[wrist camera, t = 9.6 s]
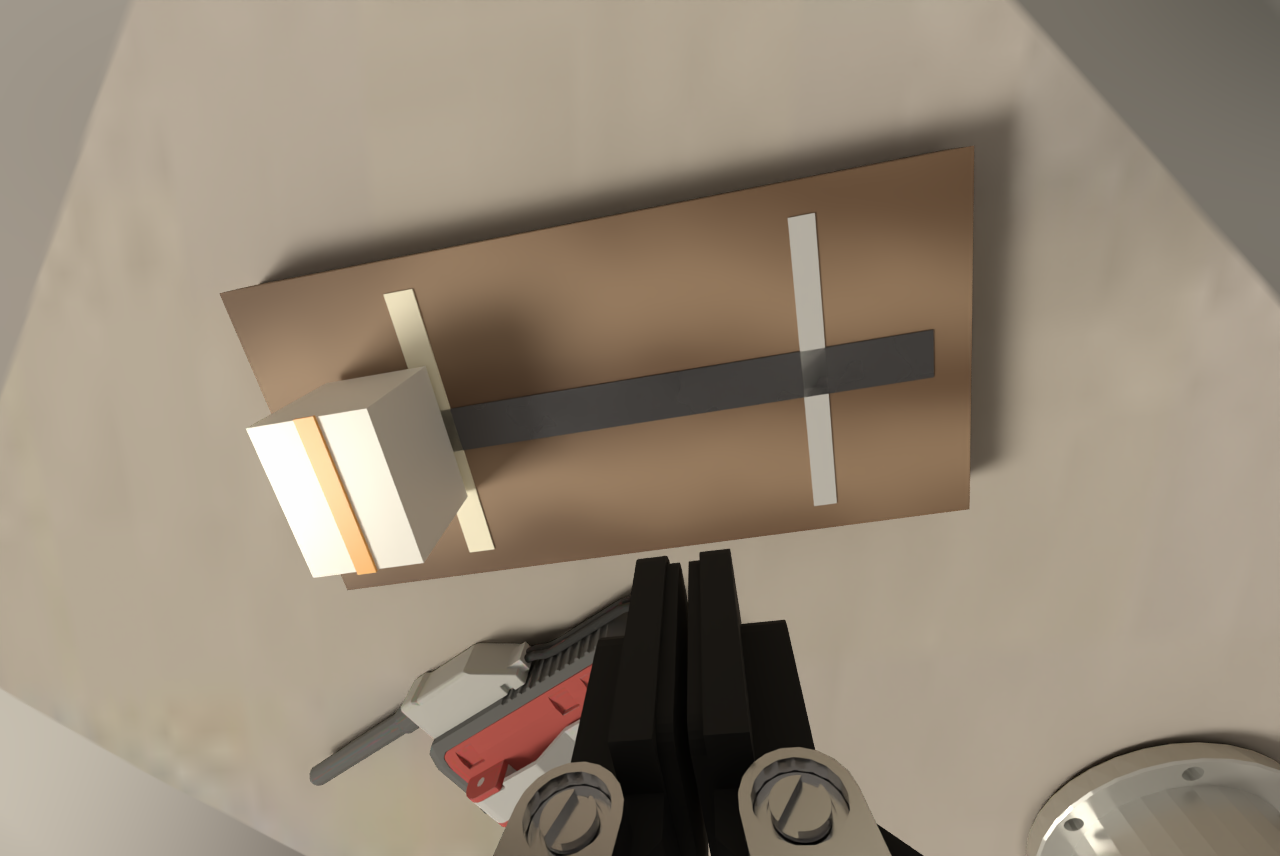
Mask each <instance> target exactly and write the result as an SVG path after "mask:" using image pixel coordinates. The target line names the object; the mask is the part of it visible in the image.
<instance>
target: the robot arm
mask: <svg viewBox="0 0 1280 856" xmlns="http://www.w3.org/2000/svg"><path fill="white" fill-rule="evenodd" d="M708 843H709V848H710V853H711V856H923V855H922V854H920V853H919V852H917V851H916V850H914V849H913V848H911V847H910V846H908V845H907V844H906V843H904V842H903V841H901V840H900V839H898V838H897V837H895V836H894V835H892V834H891V833H890V832H888V831H887V830H885V829H884V828H882V827H881V826H879V825H878V824H876V822H875V820H874V817H873V815H872V813H871V811H870V809H869V807H868V804H867V802H866V800H865V798H864V796H863V794H862V792H861V789H860V787H859V786H858V784H857V783H856V781H855V780H854V778H853V777H852V775H851V773H850V772H849V771H848V770H847V769H846V768H845V767H844V766H842V765H841V764H840V763H839V762H838V761H837V760H835V759H834V758H832V757H830V756H828V755H826V754H823V753H821V752H819V751H817V750H815V747H814V743H813V738H812V734H811V730H810V725H809V721H808V716H807V712H806V708H805V703H804V699H803V694H802V690H801V685H800V681H799V677H798V672H797V668H796V663H795V659H794V654H793V650H792V646H791V641H790V637H789V632H788V628H787V624H786V621H785V620H778V621H768V622H757V623H747V624H741V617H740V611H739V604H738V598H737V591H736V584H735V578H734V571H733V565H732V558H731V552H730V549H723V550H714V551H705V552H700V560H699V561H690V562H689V578H688V601H687V595H686V590H685V585H684V579H683V574H682V569H681V565H680V563H672V564H670V562H669V559H668V557H667V556H662V557H653V558H644V559H638V560H637V561H636V567H635V573H634V579H633V585H632V592H631V598H630V604H629V611H628V617H627V623H626V629H625V635H624V636H613V637H603V638H600V639H599V640H598V642H597V645H596V649H595V654H594V658H593V663H592V668H591V672H590V677H589V681H588V686H587V690H586V695H585V699H584V704H583V708H582V713H581V718H580V722H579V727H578V731H577V736H576V740H575V745H574V749H573V754H572V759H571V763H567V764H564V765H561V766H558V767H555V768H553V769H551V770H549V771H548V772H546V773H545V774H543V775H541V776H540V777H538V778H537V779H536V780H535V781H534V782H533V783H532V784H531V785H530V786H529V787H528V788H527V789H526V790H525V791H524V793H523V794H522V796H521V797H520V799H519V801H518V802H517V804H516V806H515V808H514V810H513V812H512V814H511V817H510V819H509V821H508V823H507V825H506V828H505V830H504V832H503V834H502V837H501V839H500V841H499V843H498V846H497V848H496V850H495V852H494V855H493V856H708ZM1026 851H1027V856H1280V764H1279V763H1277V762H1276V761H1275V760H1273V759H1271V758H1269V757H1266V756H1264V755H1262V754H1260V753H1257V752H1255V751H1253V750H1248V749H1244V748H1240V747H1236V746H1232V745H1226V744H1214V743H1202V742H1193V743H1175V744H1166V745H1161V746H1155V747H1149V748H1144V749H1140V750H1137V751H1133V752H1130V753H1127V754H1124V755H1120V756H1117V757H1114V758H1112V759H1110V760H1108V761H1106V762H1103V763H1101V764H1099V765H1097V766H1094V767H1092V768H1090V769H1089V770H1087V771H1085V772H1084V773H1082V774H1081V775H1079V776H1077V777H1076V778H1074V779H1073V780H1071V781H1069V782H1068V783H1067V784H1066V785H1065V786H1064V787H1062V788H1061V789H1060V790H1059V791H1058V792H1057V793H1055V794H1054V795H1053V796H1052V797H1051V798H1050V799H1049V801H1048V802H1047V803H1046V804H1045V806H1044V807H1043V808H1042V809H1041V810H1040V812H1039V813H1038V815H1037V817H1036V819H1035V821H1034V823H1033V825H1032V827H1031V829H1030V831H1029V836H1028V841H1027V845H1026Z"/></svg>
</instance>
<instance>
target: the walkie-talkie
mask: <svg viewBox="0 0 1280 856" xmlns="http://www.w3.org/2000/svg"><path fill="white" fill-rule="evenodd" d="M630 598H631V596H629V597H625V598H622V599H620V600H618V601H616V602H615V603H613V604H611V605H610V606H608V607H607V608H605V609H603V610H601V611H600V612H599V613H597V614H596V615H594V616H592V617H591V618H589V619H588V620H586V621H584V622H582V623H581V624H580V625H578V626H576V627H574V628H573V629H572V630H570V631H568V632H567V633H565V634H564V635H562V636H560V637H559V638H557V639H555V640H553V641H551V642H549V643H546V644H537V645H534V646H532V647H531V646H530V645H529V644H528V643H527V642H524V643H522V644H510V643H477V644H475V645H473V646H472V647H470V648H469V649H467V650H466V651H464V652H462V653H461V654H459V655H458V656H456V657H455V658H453V659H452V660H450V661H449V662H447V663H446V664H444V665H442V666H441V667H439V668H438V669H436V670H435V671H433V672H429V673H425V674H423V675H422V676H420V677H419V678H417V679H416V680H415V681H414V683H413V685H412V687H411V689H410V690H409V692H408V694H407V696H406V698H405V700H404V702H403V704H402V706H401V707H399V708H398V709H397V711H396V713H395V714H394V715H392V716H391V717H389V718H388V719H386V720H384V721H383V722H381V723H380V724H378V725H377V726H375V727H373V728H372V729H370V730H369V731H367V732H366V733H364V734H362V735H361V736H359V737H358V738H356V739H355V740H353V741H352V742H350V743H349V744H347V745H346V746H345V747H344V748H342V749H341V750H339V751H338V752H336V753H335V754H333V755H331V756H330V757H328V758H327V759H325V760H324V761H322V762H321V763H319V764H318V765H316V766H315V767H313V768H312V770H311V772H310V781H311V782H312V783H313V784H314V785H317V786H318V785H323V784H325V783H327V782H328V781H330V780H331V779H333V778H335V777H336V776H338V775H339V774H341V773H343V772H344V771H346V770H347V769H349V768H351V767H352V766H354V765H355V764H357V763H359V762H360V761H362V760H364V759H365V758H367V757H368V756H370V755H372V754H373V753H375V752H376V751H378V750H380V749H381V748H383V747H384V746H386V745H388V744H389V743H391V742H392V741H394V740H396V739H397V738H399V737H400V736H402V735H404V734H405V733H412V732H413V731H415V730H416V729H418V728H419V727H420V728H421V729H422V730H423V731H425V732H426V733H427V734H428V735H429V736H430V737H432V738H433V739H434V741H433V743H432V746H431V750H430V756H431V758H432V760H433V761H434V763H435V765H436V767H437V768H438V770H440V771H441V772H442V773H443V774H444V775H445V776H447V777H448V778H449V779H450V780H451V781H453V782H454V783H455V784H456V785H457V786H459V787H460V788H461V789H462V790H463V791H464V792H466V794H467V797H468V798H469V799H470V800H471V801H472V802H474V803H475V804H476V805H477V806H478V807H480V809H481V810H482V811H483V812H484V813H486V814H488V815H489V816H490V817H492V818H493V819H494V820H495V821H496V822H497V823H499V824H500V825H501V826H502V827H506V825H507V823H508V821H509V819H510V817H511V814H512V812H513V810H514V808H515V806H516V804H517V802H518V801H519V799H520V797H521V796H522V794H523V793H524V791H525V790H526V789H527V788H528V787H529V786H530V785H531V784H532V783H533V782H534V781H535V780H536V779H537V778H538V777H540V776H541V775H543V774H545V773H546V772H548V771H549V770H551V769H553V768H555V767H558V766H561V765H564V764H567V763H571V759H572V754H573V749H574V745H575V740H576V736H577V731H578V727H579V722H580V718H581V713H582V708H583V704H584V699H585V695H586V690H587V686H588V681H589V677H590V672H591V668H592V663H593V658H594V654H595V649H596V645H597V642H598V640H599V639H600V638H603V637H613V636H624V635H625V629H626V623H627V617H628V611H629V604H630Z"/></svg>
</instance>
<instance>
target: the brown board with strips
mask: <svg viewBox="0 0 1280 856" xmlns="http://www.w3.org/2000/svg"><path fill="white" fill-rule="evenodd" d="M973 203H974V146H969V147H962V148H955V149H947V150H942V151H937V152H931V153H926V154H921V155H916V156H911V157H906V158H901V159H896V160H891V161H886V162H880V163H875V164H870V165H865V166H860V167H855V168H850V169H845V170H840V171H834V172H829V173H824V174H819V175H814V176H809V177H804V178H799V179H794V180H789V181H783V182H778V183H773V184H768V185H763V186H758V187H753V188H748V189H743V190H738V191H732V192H727V193H722V194H717V195H712V196H707V197H702V198H697V199H692V200H687V201H681V202H676V203H671V204H666V205H661V206H656V207H651V208H646V209H641V210H635V211H630V212H625V213H620V214H615V215H610V216H605V217H600V218H595V219H590V220H584V221H579V222H574V223H569V224H564V225H559V226H554V227H549V228H544V229H539V230H533V231H528V232H523V233H518V234H513V235H508V236H503V237H498V238H493V239H488V240H482V241H477V242H472V243H467V244H462V245H457V246H452V247H447V248H442V249H436V250H431V251H426V252H421V253H416V254H411V255H406V256H401V257H396V258H391V259H385V260H380V261H375V262H370V263H365V264H360V265H355V266H350V267H345V268H340V269H334V270H329V271H324V272H319V273H314V274H309V275H304V276H299V277H294V278H289V279H283V280H278V281H273V282H268V283H263V284H258V285H254V286H249V287H245V288H241V289H236V290H232V291H228V292H223V293H220V296H221V298H222V300H223V303H224V305H225V307H226V310H227V312H228V314H229V317H230V319H231V321H232V324H233V326H234V328H235V331H236V333H237V335H238V337H239V340H240V342H241V344H242V347H243V349H244V351H245V354H246V356H247V358H248V361H249V363H250V365H251V368H252V370H253V372H254V375H255V377H256V379H257V381H258V384H259V386H260V388H261V391H262V393H263V395H264V398H265V400H266V402H267V405H268V407H269V409H270V412H271V414H273V413H274V412H276V411H278V410H280V409H282V408H283V407H285V406H287V405H289V404H290V403H292V402H294V401H296V400H298V399H299V398H301V397H303V396H305V395H306V394H308V393H310V392H312V391H313V390H315V389H317V388H319V387H321V386H322V385H324V384H326V383H330V382H336V381H342V380H348V379H353V378H359V377H365V376H371V375H377V374H382V373H388V372H394V371H400V370H405V369H411V368H417V367H423V366H426V369H427V372H428V375H429V378H430V381H431V384H432V388H433V391H434V394H435V397H436V400H437V403H438V406H439V409H440V412H441V415H442V418H443V422H444V425H445V428H446V431H447V434H448V437H449V440H450V443H451V446H452V449H453V452H454V456H455V459H456V462H457V465H458V468H459V471H460V474H461V477H462V480H463V483H464V486H465V490H466V493H467V496H468V497H467V499H466V500H465V502H464V503H463V505H462V506H461V508H460V509H459V511H458V512H457V514H456V515H455V517H454V518H453V520H452V521H451V523H450V524H449V526H448V527H447V529H446V530H445V532H444V533H443V535H442V536H441V538H440V539H439V541H438V542H437V544H436V545H435V547H434V548H433V550H432V551H431V553H430V554H429V556H428V557H427V559H426V560H425V562H424V563H420V564H412V565H405V566H397V567H390V568H382V569H377V570H378V571H377V572H376V573H369V574H361V575H358V574H357V572H352V573H345V574H341V576H342V578H343V581H344V583H345V585H346V588H347V590H352V589H360V588H368V587H375V586H383V585H391V584H398V583H406V582H414V581H421V580H429V579H437V578H444V577H452V576H460V575H467V574H475V573H483V572H490V571H498V570H506V569H513V568H521V567H529V566H536V565H544V564H552V563H559V562H567V561H575V560H582V559H590V558H598V557H605V556H613V555H621V554H629V553H636V552H644V551H652V550H659V549H667V548H675V547H682V546H690V545H698V544H705V543H713V542H721V541H728V540H736V539H744V538H751V537H759V536H767V535H774V534H782V533H790V532H797V531H805V530H813V529H820V528H828V527H836V526H843V525H851V524H859V523H866V522H874V521H882V520H889V519H897V518H905V517H912V516H920V515H928V514H935V513H943V512H951V511H958V510H966V509H969V502H970V427H971V352H972V278H973Z"/></svg>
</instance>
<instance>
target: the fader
mask: <svg viewBox="0 0 1280 856" xmlns="http://www.w3.org/2000/svg"><path fill="white" fill-rule="evenodd" d="M246 430H247V432H248V434H249V436H250V439H251V441H252V443H253V445H254V447H255V450H256V452H257V454H258V456H259V458H260V461H261V463H262V465H263V467H264V469H265V472H266V474H267V476H268V478H269V481H270V483H271V485H272V487H273V489H274V492H275V494H276V496H277V498H278V500H279V503H280V505H281V507H282V509H283V512H284V514H285V516H286V518H287V520H288V523H289V525H290V527H291V529H292V531H293V534H294V536H295V538H296V540H297V542H298V545H299V547H300V549H301V551H302V554H303V556H304V558H305V560H306V562H307V565H308V567H309V569H310V571H311V573H312V576H313V578H315V577H322V576H330V575H337V574H345V573H352V572H357V574H358V575H361V574H369V573H376V572H377V571H378V570H377V569H382V568H390V567H397V566H405V565H412V564H420V563H424V562H425V560H426V559H427V557H428V556H429V554H430V553H431V551H432V550H433V548H434V547H435V545H436V544H437V542H438V541H439V539H440V538H441V536H442V535H443V533H444V532H445V530H446V529H447V527H448V526H449V524H450V523H451V521H452V520H453V518H454V517H455V515H456V514H457V512H458V511H459V509H460V508H461V506H462V505H463V503H464V502H465V500H466V499H467V497H468V496H467V493H466V490H465V486H464V483H463V480H462V477H461V474H460V471H459V468H458V465H457V462H456V459H455V456H454V452H453V449H452V446H451V443H450V440H449V437H448V434H447V431H446V428H445V425H444V422H443V418H442V415H441V412H440V409H439V406H438V403H437V400H436V397H435V394H434V391H433V388H432V384H431V381H430V378H429V375H428V372H427V369H426V366H423V367H417V368H411V369H405V370H400V371H394V372H388V373H382V374H377V375H371V376H365V377H359V378H353V379H348V380H342V381H336V382H330V383H326V384H324V385H322V386H321V387H319V388H317V389H315V390H313V391H312V392H310V393H308V394H306V395H305V396H303V397H301V398H299V399H298V400H296V401H294V402H292V403H290V404H289V405H287V406H285V407H283V408H282V409H280V410H278V411H276V412H274V413H273V414H271V415H269V416H267V417H266V418H264V419H262V420H260V421H258V422H257V423H255V424H253V425H251V426H250V427H248V428H246Z"/></svg>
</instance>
